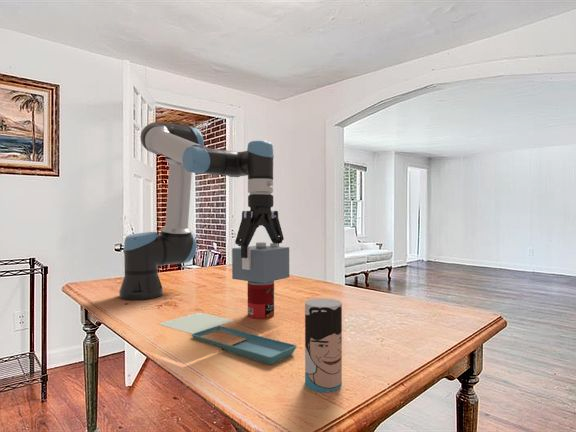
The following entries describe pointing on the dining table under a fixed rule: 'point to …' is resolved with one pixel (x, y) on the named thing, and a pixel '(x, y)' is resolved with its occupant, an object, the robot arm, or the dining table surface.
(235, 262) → the cover
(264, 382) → the dining table surface
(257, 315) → the canned food
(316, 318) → the printed grey cylinder
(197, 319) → the mat
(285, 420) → the dining table surface
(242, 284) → the dining table surface
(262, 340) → the shallow long dish
